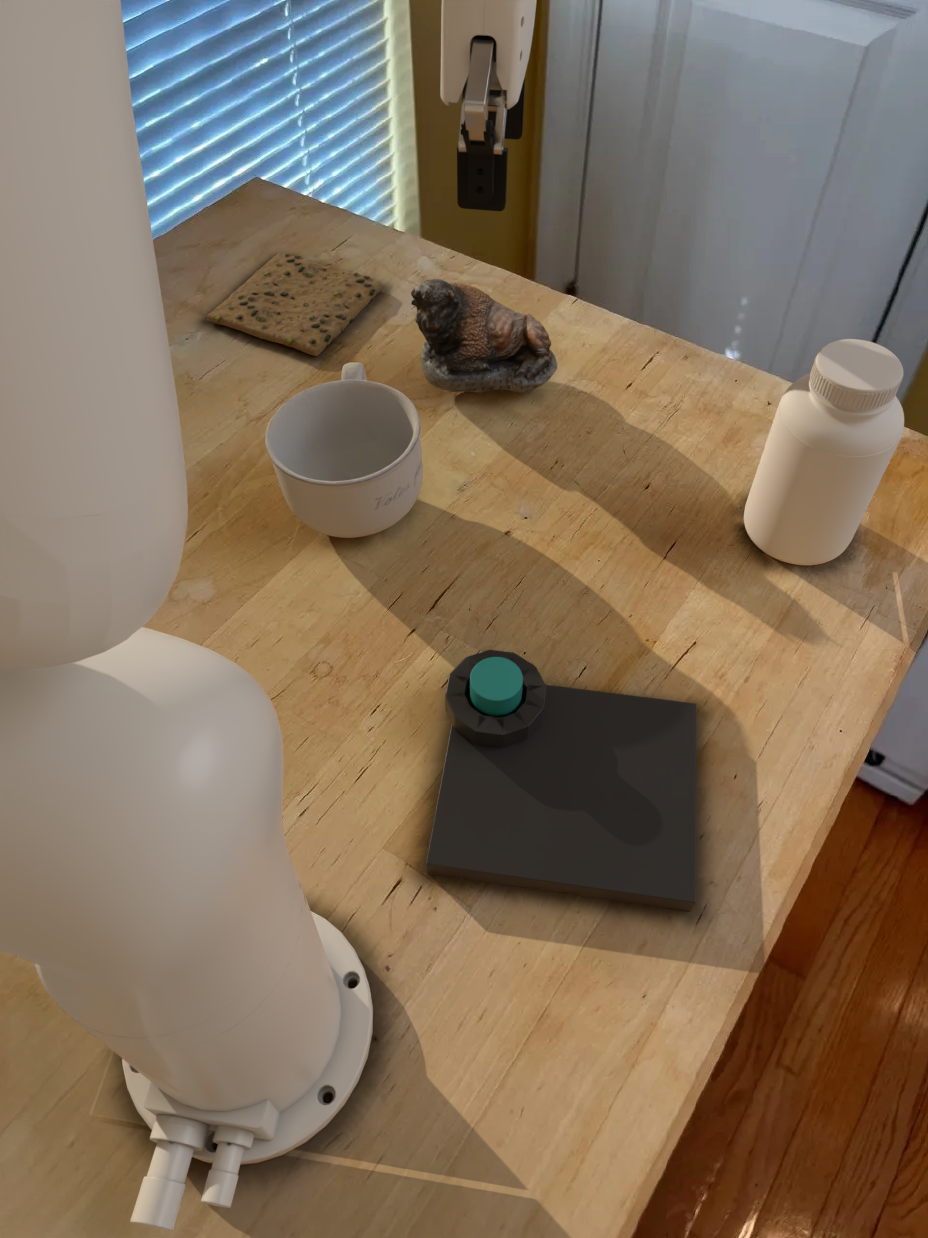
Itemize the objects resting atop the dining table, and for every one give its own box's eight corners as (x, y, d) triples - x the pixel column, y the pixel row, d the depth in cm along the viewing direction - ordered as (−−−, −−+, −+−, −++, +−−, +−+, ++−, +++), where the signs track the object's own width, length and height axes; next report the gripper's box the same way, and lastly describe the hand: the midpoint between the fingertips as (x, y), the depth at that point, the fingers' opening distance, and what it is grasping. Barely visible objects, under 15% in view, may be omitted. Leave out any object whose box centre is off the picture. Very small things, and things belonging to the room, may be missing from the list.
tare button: (518, 719, 57) (519, 703, 55) (466, 712, 57) (466, 697, 56) (524, 676, 59) (525, 659, 57) (473, 669, 59) (474, 653, 58)
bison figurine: (547, 354, 83) (556, 249, 75) (563, 406, 78) (574, 300, 70) (412, 366, 82) (406, 260, 74) (420, 419, 77) (415, 313, 69)
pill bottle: (718, 525, 70) (770, 359, 58) (784, 475, 73) (845, 308, 61) (806, 587, 67) (881, 423, 55) (871, 531, 70) (955, 365, 58)
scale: (691, 912, 52) (702, 892, 50) (417, 872, 54) (414, 851, 51) (692, 701, 61) (701, 675, 58) (455, 671, 62) (454, 645, 60)
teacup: (405, 569, 68) (399, 489, 61) (262, 547, 69) (241, 466, 63) (446, 441, 76) (444, 359, 70) (317, 423, 77) (304, 341, 71)
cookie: (277, 255, 92) (276, 246, 91) (385, 287, 89) (384, 278, 88) (204, 320, 86) (201, 311, 85) (317, 358, 82) (315, 349, 81)
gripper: (454, -182, 57) (457, 108, 71) (401, -84, 47) (416, 234, 61) (577, -177, 57) (556, 115, 70) (550, -76, 46) (531, 243, 60)
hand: (491, 170), depth 66 cm, fingers open, 9 cm apart
